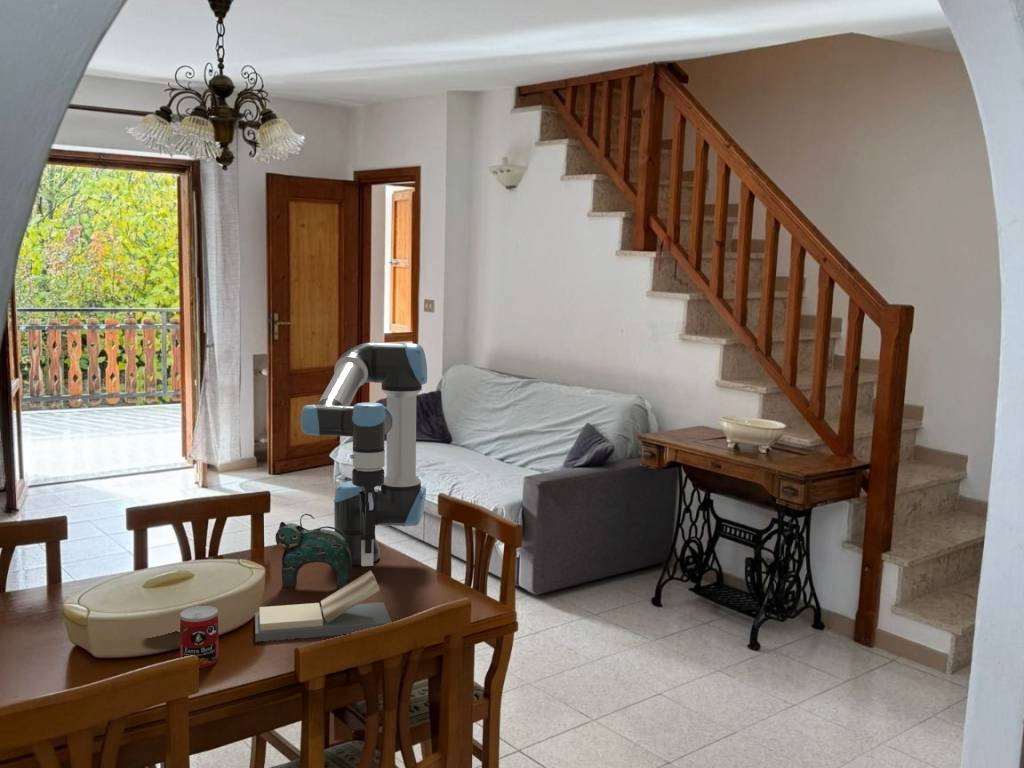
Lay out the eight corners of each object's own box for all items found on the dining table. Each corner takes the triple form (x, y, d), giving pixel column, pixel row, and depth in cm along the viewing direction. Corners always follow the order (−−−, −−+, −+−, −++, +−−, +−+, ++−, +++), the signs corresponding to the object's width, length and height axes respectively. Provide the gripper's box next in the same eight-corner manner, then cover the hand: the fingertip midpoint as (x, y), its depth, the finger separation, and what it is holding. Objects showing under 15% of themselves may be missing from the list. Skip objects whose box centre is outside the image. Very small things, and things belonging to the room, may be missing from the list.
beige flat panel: (323, 606, 217) (320, 601, 217) (373, 575, 220) (370, 570, 219) (327, 622, 207) (324, 617, 206) (380, 590, 209) (376, 584, 209)
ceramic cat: (274, 589, 236) (274, 515, 234) (280, 581, 242) (279, 509, 240) (349, 590, 237) (350, 516, 235) (353, 582, 243) (353, 510, 241)
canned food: (179, 671, 185) (178, 620, 184) (182, 655, 193) (181, 606, 192) (217, 667, 187) (217, 617, 186) (219, 652, 195) (218, 604, 194)
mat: (255, 619, 214) (255, 605, 214) (383, 609, 223) (383, 595, 223) (255, 642, 201) (255, 626, 201) (392, 630, 210) (392, 616, 209)
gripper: (349, 463, 216) (348, 558, 218) (355, 474, 204) (354, 574, 206) (380, 462, 218) (379, 556, 220) (388, 473, 206) (386, 572, 208)
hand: (367, 564), depth 213 cm, fingers closed
